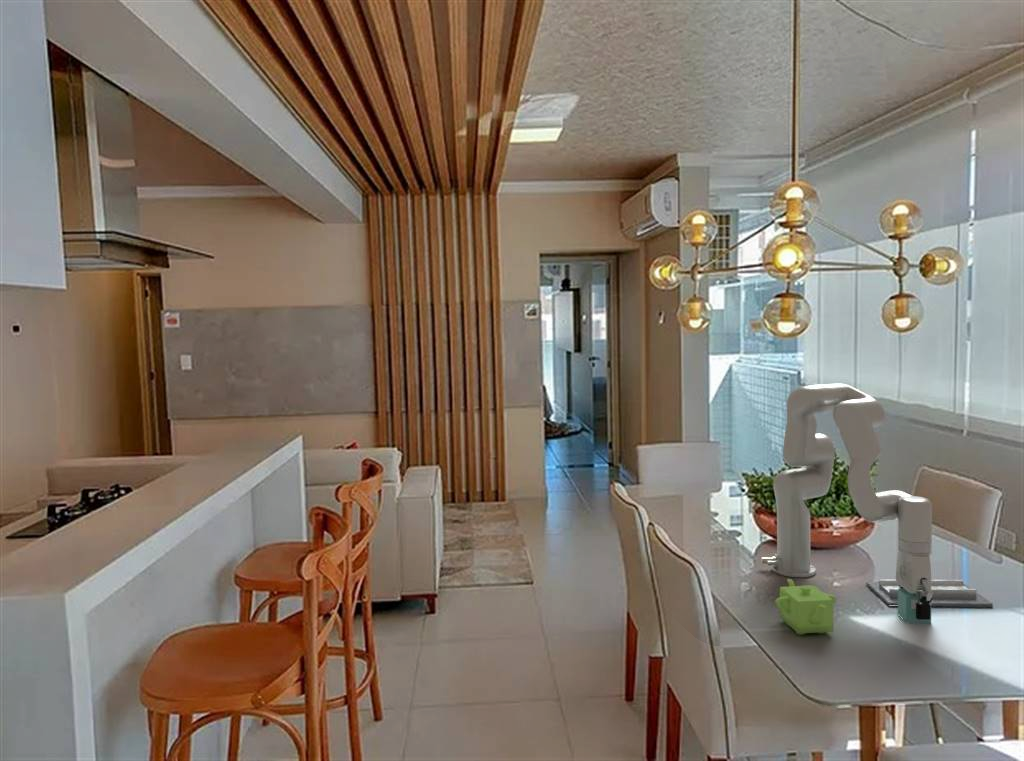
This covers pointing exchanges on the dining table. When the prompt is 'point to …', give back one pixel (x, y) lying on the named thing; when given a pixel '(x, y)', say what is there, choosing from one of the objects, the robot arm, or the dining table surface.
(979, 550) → the dining table surface
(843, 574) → the dining table surface
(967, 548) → the dining table surface
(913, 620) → the block
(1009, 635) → the dining table surface
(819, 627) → the teapot
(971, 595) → the rail board
